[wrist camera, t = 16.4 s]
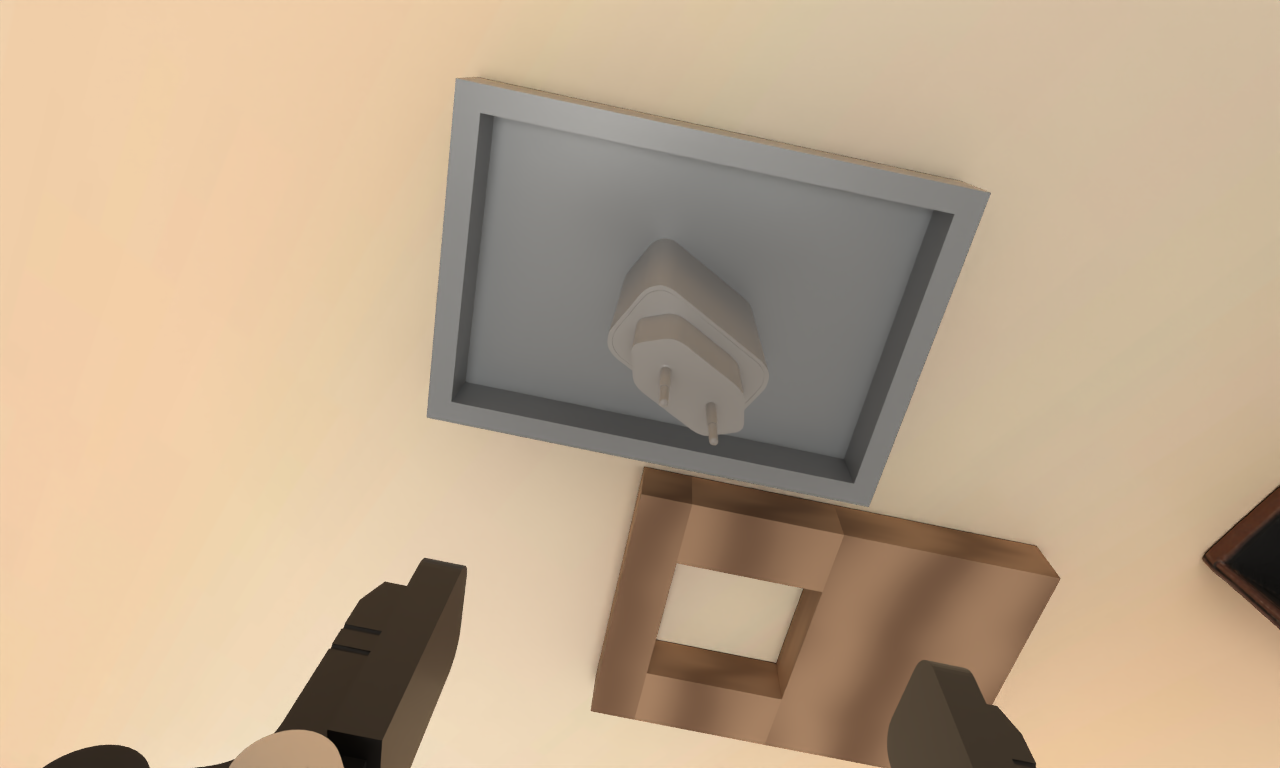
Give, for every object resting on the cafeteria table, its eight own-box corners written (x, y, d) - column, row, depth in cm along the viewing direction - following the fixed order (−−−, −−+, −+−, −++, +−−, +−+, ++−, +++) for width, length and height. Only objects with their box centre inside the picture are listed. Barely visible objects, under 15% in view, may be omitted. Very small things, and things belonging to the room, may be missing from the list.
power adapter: (662, 230, 30) (649, 323, 19) (759, 311, 31) (798, 442, 20) (616, 286, 31) (578, 404, 20) (711, 362, 32) (724, 512, 21)
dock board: (1036, 546, 36) (1060, 578, 34) (936, 741, 42) (950, 780, 39) (644, 466, 36) (641, 494, 33) (596, 675, 41) (590, 711, 39)
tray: (962, 181, 29) (990, 192, 27) (854, 472, 35) (868, 507, 32) (477, 77, 29) (456, 78, 26) (447, 389, 35) (426, 417, 32)
